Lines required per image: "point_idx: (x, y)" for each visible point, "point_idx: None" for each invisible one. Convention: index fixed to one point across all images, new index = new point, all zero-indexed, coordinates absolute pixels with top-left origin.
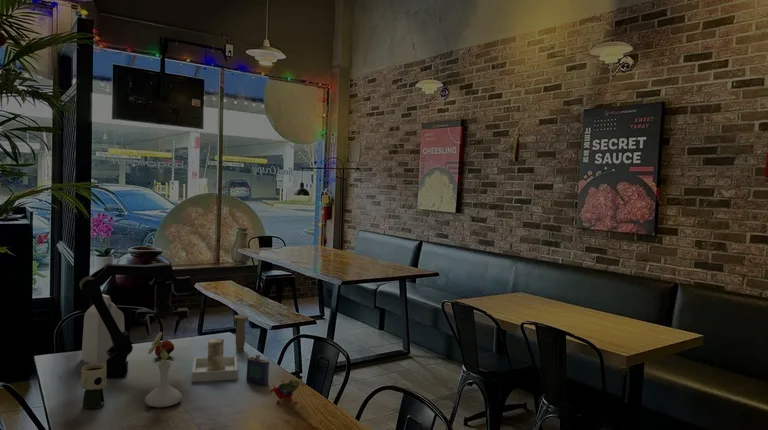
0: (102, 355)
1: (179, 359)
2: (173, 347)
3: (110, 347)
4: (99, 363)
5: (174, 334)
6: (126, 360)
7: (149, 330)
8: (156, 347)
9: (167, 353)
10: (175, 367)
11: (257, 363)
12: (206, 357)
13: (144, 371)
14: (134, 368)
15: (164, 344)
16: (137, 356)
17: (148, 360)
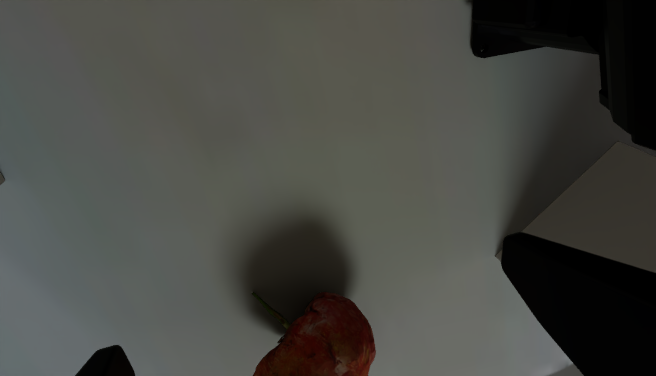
0: (644, 189)
1: (195, 295)
2: (255, 371)
3: (641, 247)
4: (618, 157)
5: (108, 353)
6: (544, 23)
7: (583, 296)
8: (367, 338)
9: (286, 323)
10: (161, 152)
11: None
12: None
13: (365, 62)
14: (435, 119)
15: (319, 364)
16: (444, 296)
17: (379, 253)
